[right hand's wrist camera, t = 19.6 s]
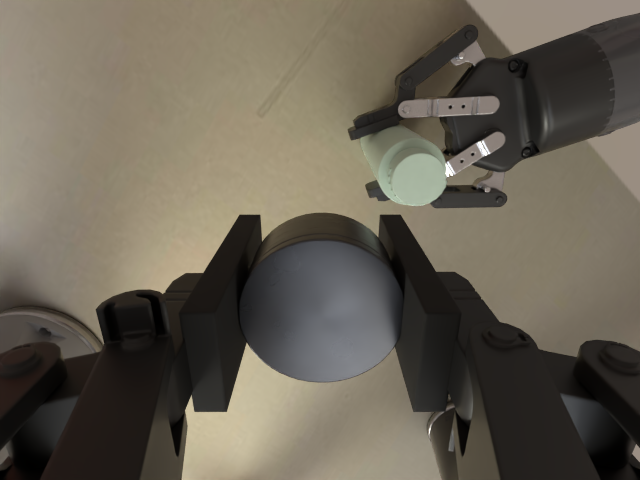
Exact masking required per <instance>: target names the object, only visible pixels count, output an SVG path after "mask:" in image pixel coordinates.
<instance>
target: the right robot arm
mask: <svg viewBox="0 0 640 480" xmlns="http://www.w3.org/2000/svg"><path fill="white" fill-rule="evenodd" d="M379 239H380V241H381V242H382V243H383V245H384V247H385V248H386V250H387V253H388V255H389V257H390V260H391V262H392V265H393V267H394V270H395V272H396V275H397V277H398V280H399V282H400V284H401V287H402V289H403V292H404V306H403V317H402V327H401V336H400V338H399V340H398V342H397V343H396V345H395V349H396V352H397V356H398V359H399V363H400V366H401V370H402V373H403V377H404V380H405V384H406V387H407V391H408V394H409V398H410V401H411V405H412V408H413V412H446V407H447V401H448V394H450V397H451V399H452V402H453V404H454V406H455V414H454V420H453V425H452V431H451V437H450V442H449V449H448V451H452V452H453V451H454V446H455V451H456V460H457V469H458V477H459V480H640V462H639V461H638V460H637V459H636V458H635V457H634V456H633V455H632V452H633V450H634V448H635V445H636V444H637V445H638V446H639V448H640V352H639V351H637V350H635V349H633V348H630V347H629V346H627V345H624V344H621V343H617V342H613V341H604V340H592V341H586V342H585V343H583V344H582V345H581V346H580V349H579V352H578V355H577V357H573V356H568V355H562V354H557V353H552V352H547V351H543V350H540V349H538V347H537V345H536V343H535V342H534V340H533V339H532V338H531V337H530V335H528V334H527V333H525V332H524V331H522V330H521V329H519V328H516V327H514V326H512V325H509V324H506V323H501V322H499V321H498V319H497V318H496V317H495V315H494V314H493V313H492V311H491V310H490V309H489V307H488V306H487V305H486V304H485V302H484V301H483V300H481V297H480V296H479V294H478V293H477V292H475V289H474V288H473V286H472V285H471V284H470V282H469V281H468V280H467V279H465V278H463V277H462V276H460V275H459V274H457V273H455V272H436V271H435V269H434V268H433V266H432V264H431V263H430V261H429V260H428V258H427V256H426V255H425V253H424V252H423V250H422V248H421V247H420V245H419V244H418V242H417V240H416V239H415V237H414V236H413V234H412V232H411V231H410V229H409V228H408V226H407V224H406V223H405V221H404V220H403V218H402V216H401V215H380V222H379ZM261 243H262V234H261V218H260V215H239V217H238V218H237V220H236V222H235V223H234V225H233V226H232V228H231V230H230V231H229V233H228V234H227V236H226V238H225V239H224V241H223V242H222V244H221V246H220V247H219V249H218V250H217V252H216V254H215V255H214V257H213V258H212V260H211V262H210V263H209V265H208V266H207V268H206V270H205V271H204V273H185V274H184V275H182V276H181V277H179V278H177V279H176V280H174V281H173V282H172V283H171V284H170V286H169V287H168V288H167V290H166V293H164V294H162V293H160V292H158V291H154V290H134V291H129V292H124V293H121V294H119V295H116V296H113V297H111V298H109V299H108V300H106V301H104V302H102V303H101V304H100V305H99V307H98V308H97V309H96V312H97V316H98V320H99V324H100V328H101V332H102V336H103V340H104V346H102V345H101V343H100V342H99V341H98V339H97V338H96V337H95V336H94V335H93V334H92V333H91V332H90V331H89V330H88V329H87V328H86V327H84V326H83V325H82V324H80V323H79V322H77V321H76V320H74V319H73V318H71V317H69V316H67V315H65V314H62V313H60V312H57V311H54V310H51V309H47V308H42V307H34V306H22V307H15V308H11V309H8V310H5V311H3V312H1V313H0V480H181V478H182V470H183V461H184V452H185V444H186V435H187V420H186V414H185V409H186V407H187V404H188V402H189V399H190V397H191V395H192V399H193V405H194V411H195V412H227V409H228V405H229V402H230V398H231V395H232V391H233V388H234V384H235V381H236V378H237V374H238V371H239V367H240V364H241V360H242V357H243V353H244V350H245V346H246V343H247V342H246V340H245V338H244V335H243V333H242V330H241V327H240V323H239V316H238V304H239V298H240V293H241V291H242V288H243V285H244V282H245V280H246V277H247V275H248V272H249V269H250V267H251V264H252V262H253V259H254V256H255V254H256V252H257V250H258V248H259V246H260V244H261Z"/></svg>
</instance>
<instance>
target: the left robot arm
mask: <svg viewBox="0 0 640 480" xmlns="http://www.w3.org/2000/svg"><path fill="white" fill-rule="evenodd" d="M477 37H478V30H477V28H476V27H475V26H473V25H467V26H464V27H462V28H459V29H457V30H455V31H454V32H452V33H451V34H450V35H448V36H447V37H446V38H445V39H443V40H442V41H441V42H439V43H438V44H437V45H436V46H434V47H433V48H432V49H430V50H429V51H428V52H427V53H425V54H424V55H423V56H421V57H420V58H419V59H418V60H416V61H415V62H414V63H412V64H411V65H410V66H409V67H407V68H406V69H405V70H403V71H402V72H401V73H400V74H398V75H397V76H396V78H395V86H396V89H395V97H394V100H393V101H392V103H390V104H389V105H387V106H384V107H381V108H378V109H376V110H373V111H370V112H367V113H365V114H362V115H359V116H357V117H356V118H355V119H354V120H353V122H354V127H351V128H349V129H348V133H349V136H350V139H351V140H355V139H358V138H361V137H364V136H367V135H370V134H373V133H375V132H378V131H381V130H384V129H387V128H389V127H393V126H395V125H398V124H399V121H400V120H403V119H405V118H416V117H439V118H440V122H441V124H442V126H443V128H444V129H445V145H446V147H445V148H444V149H442V150H441V152H442V153H443V155H444V158H445V161H446V177H449V176H453V175H455V174H457V173H458V172H460V171H462V170H463V169H465V168H466V167H468V166H470V165H474V166H477V167H480V168H483V169H486V170H489V171H488V173H487V175H485V176H484V177H481V178H477V179H476V180H475V181H474V182H473V185H449V186H446V188H445V189H444V190H443V192H442V194H440V196H439V197H438V198H437V199H436V200H433V201H432V202H431V203H430V204H431V205H432V206H433V207H434V208H471V207H501V206H503V205H504V204H505V203H506V201H507V196H506V194H505V193H503V192H502V188H503V182H504V175H505V172H506V171H508V170H510V169H511V168H512V167H513V166H514V165H515V164H517V163H518V162H519V161H521V160H523V159H526V158H530V157H533V156H537V155H540V154H543V153H546V152H549V151H552V150H555V149H558V148H561V147H564V146H568V145H571V144H574V143H577V142H580V141H583V140H586V139H589V138H592V137H595V136H603V135H607V134H610V133H611V132H613V131H615V130H617V129H620V128H623V127H626V126H629V125H631V124H634V123H637V122H639V121H640V13H638V14H634V15H629V16H625V17H620V18H616V19H612V20H609V21H606V22H603V23H600V24H597V25H593V26H591V27H589V28H587V29H584V30H581V31H578V32H576V33H573V34H570V35H567V36H564V37H561V38H559V39H556V40H553V41H551V42H548V43H545V44H542V45H540V46H537V47H534V48H531V49H529V50H526V51H523V52H520V53H518V54H515V55H512V56H509V57H506V58H503V59H497V58H486V57H485V56H484V54H483V52H482V50H481V48H480V46H479V44H478V43H477V41H476V39H477ZM447 62H448V64H450V65H452V66H456V65H461V64H463V63H467V64H468V65H469V66H470V67H469V68H468V70H467V71H466V72H465V73H464V75H463V76H462V77H461V79H460V80H459V81H458V82H457V84H456V85H455V86H454V88H453V89H452V90H451V92H450V93H449V94H448V95H447V96H441V97H425V98H415V88H416V86H417V85H418V84H420V83H421V82H422V81H424V80H425V79H426V78H428V77H429V76H430V75H432V74H433V73H434V72H436V71H437V70H438V69H440V68H441V67H442V66H444V65H445V64H446V63H447ZM449 153H450V155H449ZM460 161H461V162H460ZM365 186H366V189H367V193H368V195H369V198H374V197H377V199H378V201H387V200H390V198H388V197H387V196H386V195H385V194H384V192H383V191H382V189H381V187H380V185H379V183H378V181H377V180H376V181H373V182H370V183H368V184H366V185H365ZM454 414H455V406H454V404H453V402H449V403H447V407H446V412H434V413H433V415H432V416H431V418H430V419H429V422H428V426H427V432H428V436H429V439H430V442H431V444H432V447H433V450H434V454H435V458H436V462H437V465H438V469H439V472H440V476H441V479H442V480H459V477H458V469H457V460H456V451H455V446H454V451H453V452H452V451H448V449H449V442H450V437H451V431H452V425H453V420H454Z"/></svg>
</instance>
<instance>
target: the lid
mask: <svg viewBox="0 0 640 480" xmlns="http://www.w3.org/2000/svg"><path fill="white" fill-rule="evenodd" d="M403 306H404V292H403V289H402V287H401V284H400V282H399V280H398V277H397V275H396V272H395V270H394V267H393V265H392V262H391V260H390V257H389V255H388V253H387V250H386V248H385V247H384V245H383V243H382V242H381V241H380V239H379V238H378V237H377V236H376V235H375V234H374V233H373V232H372V231H371V230H370V229H369V228H367V227H366V226H364V225H363V224H361V223H359V222H358V221H356V220H354V219H351V218H348V217H346V216H342V215H338V214H332V213H312V214H305V215H302V216H298V217H295V218H293V219H290V220H288V221H286V222H284V223H283V224H281V225H279V226H278V227H277V228H275V229H274V230H273V231H271V232H270V234H269V235H268V236H267V237H266V238H265V239H264V240H263V242H262V243H261V244H260V246H259V248H258V250H257V252H256V254H255V256H254V259H253V262H252V264H251V267H250V269H249V272H248V275H247V277H246V280H245V282H244V285H243V288H242V291H241V293H240V298H239V304H238V316H239V323H240V327H241V330H242V333H243V335H244V338H245V340H246V342H247V343H248V345H249V346H250V348H251V349H252V351H253V352H254V353H255V354H256V355H257V356H258V357H259V358H260V359H261V360H262V361H263V362H264V363H265V364H267V365H268V366H269V367H271V368H272V369H274V370H276V371H278V372H279V373H282V374H284V375H286V376H289V377H292V378H295V379H298V380H303V381H308V382H334V381H341V380H345V379H349V378H352V377H355V376H358V375H360V374H362V373H364V372H366V371H368V370H370V369H371V368H373V367H375V366H376V365H377V364H379V363H380V362H381V361H382V360H383V359H384V358H385V357H386V356H387V355H388V354H389V353H390V352H391V351H392V349H393V348H394V347H395V345H396V343H397V342H398V340H399V338H400V336H401V327H402V317H403Z"/></svg>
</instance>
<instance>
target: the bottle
mask: <svg viewBox="0 0 640 480" xmlns="http://www.w3.org/2000/svg"><path fill="white" fill-rule="evenodd" d="M360 143H361V148H362V150H363V152H364V155H365V157H366V159H367V161H368V163H369V165H370V167H371V169H372V171H373V173H374V175H375V177H376V179H377V181H378V183H379V185H380V187H381V189H382V191H383V192H384V194H385V195H386V196H387V197H388V198H390V199H391V200H392V201H394V202H396V203H399V204H403V205H412V206H420V205H421V206H422V205H425V204H428V203H431V202H432V201H433V200H436V199H437V198H438V197H439V196H440V194H442V192H443V190H444V189H445V188H446V184H447V180H446V161H445V158H444V155H443V153H442V152H441V150H440V149H439V148H438V147H437V146H436V145H435V144H434V143H432V142H430V141H429V140H427V139H425V138H423V137H422V136H420V135H418V134H417V133H415V132H413V131H411V130H410V129H408V128H406V127H405V126H403V125H401V124H398V125H395V126H393V127H389V128H387V129H384V130H381V131H378V132H375V133H373V134H370V135H367V136H364V137H361V138H360Z"/></svg>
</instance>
